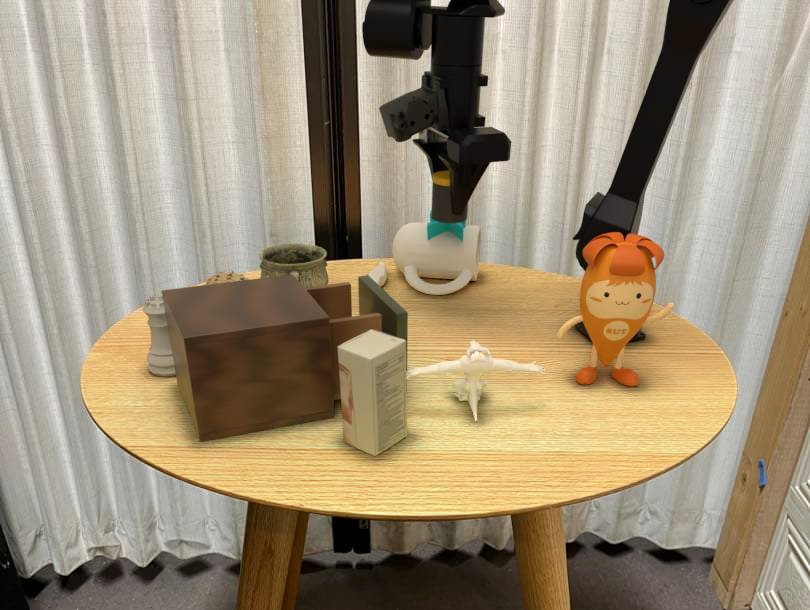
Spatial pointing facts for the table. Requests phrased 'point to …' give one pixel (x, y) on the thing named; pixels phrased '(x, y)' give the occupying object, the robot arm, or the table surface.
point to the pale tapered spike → (379, 274)
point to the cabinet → (250, 355)
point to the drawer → (373, 315)
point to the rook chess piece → (159, 338)
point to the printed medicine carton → (373, 391)
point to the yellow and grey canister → (444, 200)
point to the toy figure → (616, 299)
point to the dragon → (473, 372)
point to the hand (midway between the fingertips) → (449, 209)
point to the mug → (438, 254)
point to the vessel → (295, 263)
